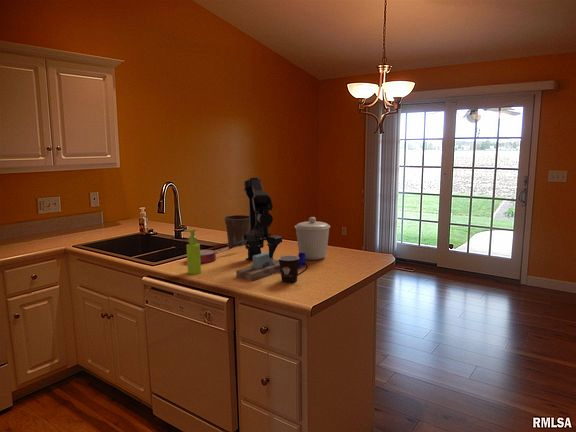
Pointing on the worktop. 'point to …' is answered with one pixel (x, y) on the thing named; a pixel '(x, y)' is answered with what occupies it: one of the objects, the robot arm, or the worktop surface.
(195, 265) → the soap dispenser
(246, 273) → the rail
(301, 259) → the cable clip
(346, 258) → the worktop surface
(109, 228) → the worktop surface
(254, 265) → the grey channel block
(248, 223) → the plant pot
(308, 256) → the canister
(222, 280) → the worktop surface
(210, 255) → the frying pan
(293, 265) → the coffee mug
